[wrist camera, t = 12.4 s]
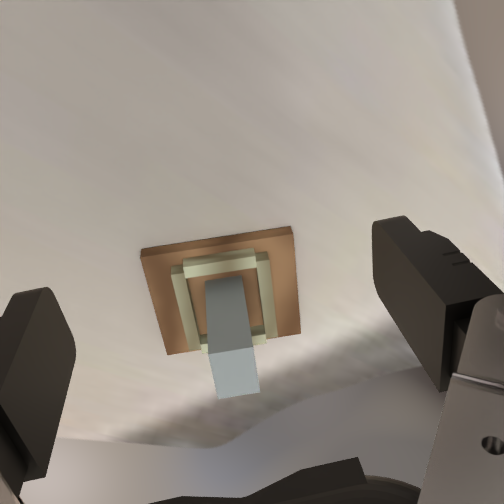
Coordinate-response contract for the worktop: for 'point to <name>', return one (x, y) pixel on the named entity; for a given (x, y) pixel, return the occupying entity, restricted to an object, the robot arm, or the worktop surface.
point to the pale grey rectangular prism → (230, 338)
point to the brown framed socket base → (221, 266)
